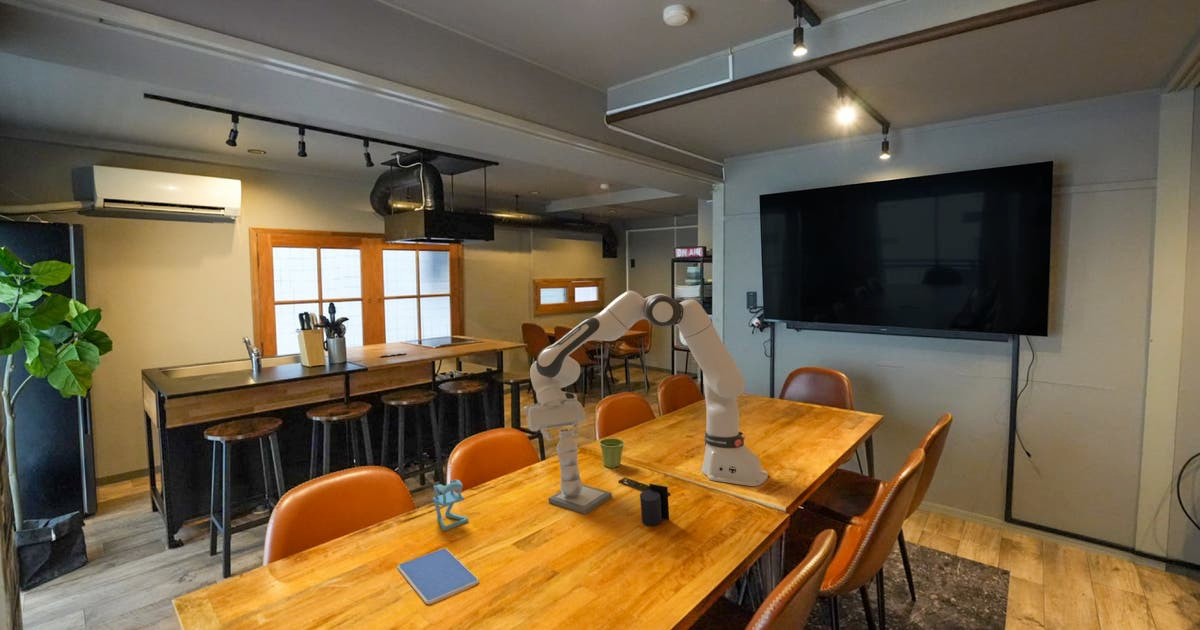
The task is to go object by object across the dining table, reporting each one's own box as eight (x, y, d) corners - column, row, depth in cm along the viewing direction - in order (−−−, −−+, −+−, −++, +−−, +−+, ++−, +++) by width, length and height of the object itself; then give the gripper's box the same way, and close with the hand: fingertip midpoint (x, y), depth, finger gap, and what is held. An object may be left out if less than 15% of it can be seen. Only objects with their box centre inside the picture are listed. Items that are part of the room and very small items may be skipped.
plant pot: (625, 460, 193) (625, 438, 192) (624, 470, 184) (624, 446, 183) (600, 460, 194) (600, 437, 193) (598, 469, 185) (597, 446, 184)
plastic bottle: (561, 493, 161) (553, 430, 162) (582, 490, 162) (575, 427, 163) (561, 499, 155) (553, 433, 156) (583, 496, 156) (575, 430, 156)
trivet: (611, 497, 162) (611, 492, 161) (585, 514, 150) (585, 509, 150) (576, 487, 170) (576, 482, 169) (548, 502, 158) (548, 497, 158)
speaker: (654, 512, 151) (653, 479, 149) (669, 519, 147) (668, 486, 145) (636, 523, 146) (635, 489, 144) (652, 531, 142) (651, 497, 140)
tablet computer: (396, 569, 124) (395, 564, 124) (445, 550, 132) (445, 545, 132) (426, 608, 109) (426, 602, 109) (480, 585, 117) (480, 579, 117)
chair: (454, 512, 152) (452, 473, 152) (468, 521, 147) (467, 480, 146) (429, 521, 147) (427, 480, 146) (443, 531, 141) (441, 488, 140)
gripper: (524, 400, 170) (535, 437, 162) (580, 393, 180) (593, 428, 172) (520, 410, 174) (531, 447, 166) (574, 403, 184) (587, 437, 176)
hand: (563, 437), depth 169 cm, fingers open, 8 cm apart
